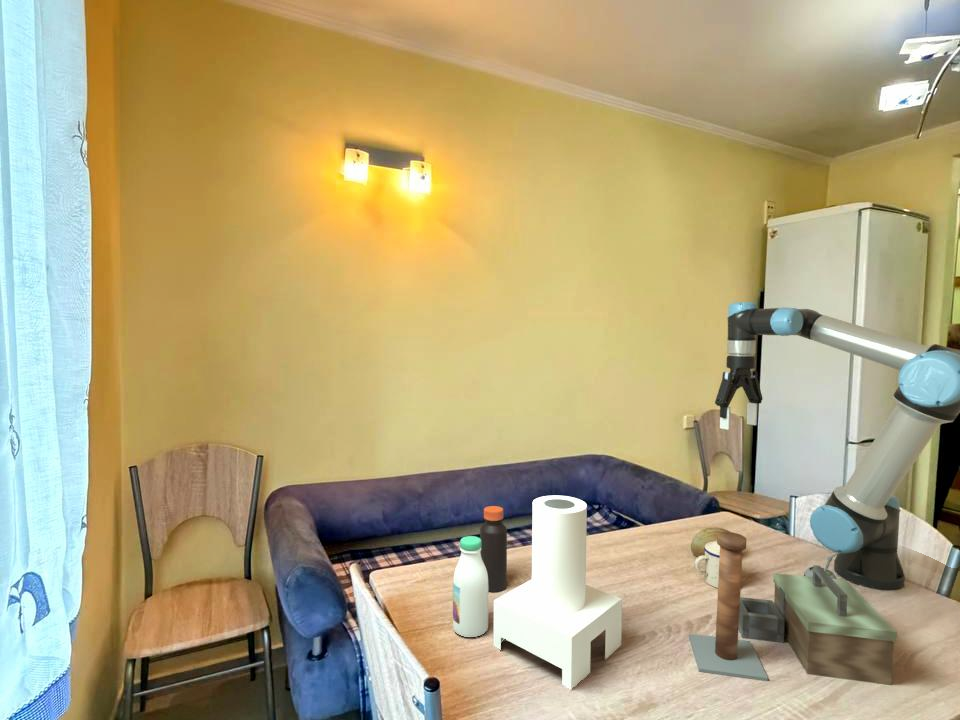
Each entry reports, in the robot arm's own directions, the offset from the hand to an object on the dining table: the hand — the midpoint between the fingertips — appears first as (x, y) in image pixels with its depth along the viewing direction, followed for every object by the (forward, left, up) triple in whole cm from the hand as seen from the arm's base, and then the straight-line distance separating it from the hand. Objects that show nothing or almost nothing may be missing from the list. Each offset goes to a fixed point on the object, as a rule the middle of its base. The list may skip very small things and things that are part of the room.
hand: (738, 426), depth 157 cm
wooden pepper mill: (+15, +58, -36) cm, 70 cm away
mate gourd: (-12, +31, -37) cm, 50 cm away
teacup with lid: (+10, +25, -37) cm, 46 cm away
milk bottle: (+67, +60, -37) cm, 97 cm away
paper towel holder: (+48, +62, -37) cm, 87 cm away
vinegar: (+66, +40, -37) cm, 85 cm away
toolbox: (-2, +50, -37) cm, 62 cm away
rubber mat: (+15, +58, -37) cm, 70 cm away
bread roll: (+6, +7, -37) cm, 38 cm away
